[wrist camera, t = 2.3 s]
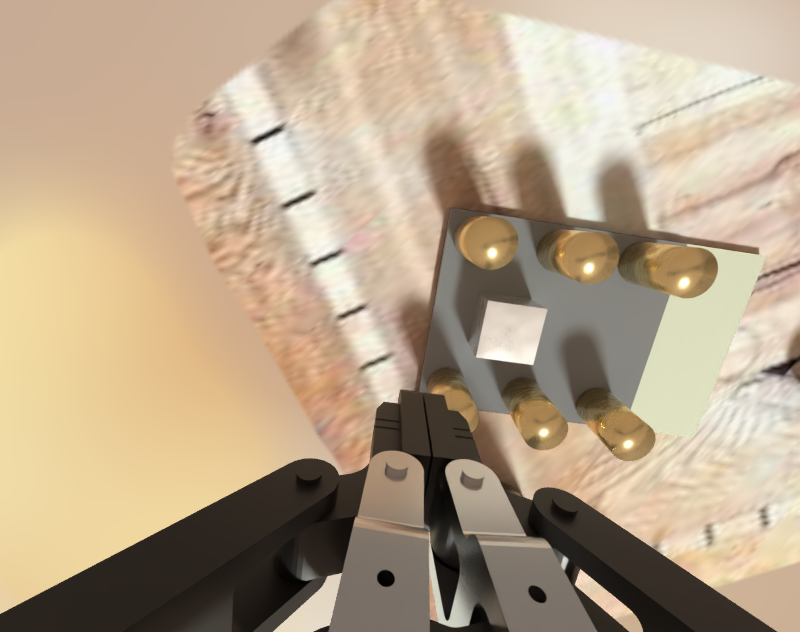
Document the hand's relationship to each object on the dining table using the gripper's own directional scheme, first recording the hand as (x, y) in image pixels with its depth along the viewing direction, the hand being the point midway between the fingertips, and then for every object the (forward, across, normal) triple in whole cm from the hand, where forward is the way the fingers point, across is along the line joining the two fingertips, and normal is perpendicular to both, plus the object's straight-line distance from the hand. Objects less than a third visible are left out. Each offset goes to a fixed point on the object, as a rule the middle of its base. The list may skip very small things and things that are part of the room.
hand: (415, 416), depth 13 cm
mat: (+16, -14, 0) cm, 21 cm away
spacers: (+16, -10, 0) cm, 19 cm away
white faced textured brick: (+15, -7, 0) cm, 17 cm away
